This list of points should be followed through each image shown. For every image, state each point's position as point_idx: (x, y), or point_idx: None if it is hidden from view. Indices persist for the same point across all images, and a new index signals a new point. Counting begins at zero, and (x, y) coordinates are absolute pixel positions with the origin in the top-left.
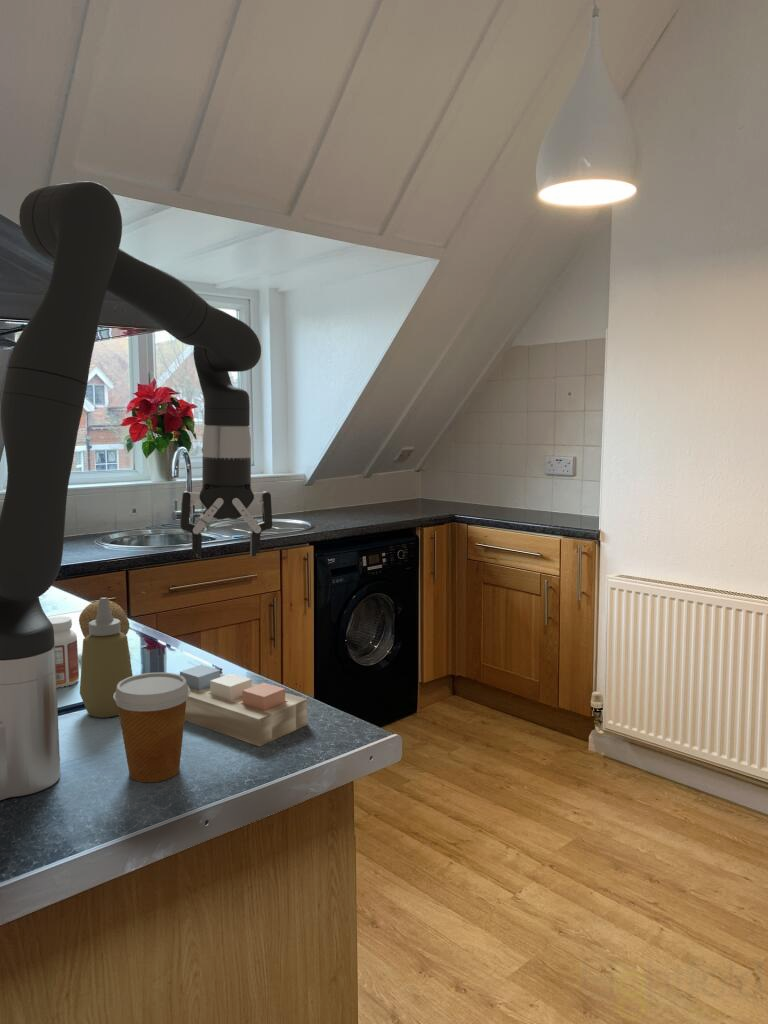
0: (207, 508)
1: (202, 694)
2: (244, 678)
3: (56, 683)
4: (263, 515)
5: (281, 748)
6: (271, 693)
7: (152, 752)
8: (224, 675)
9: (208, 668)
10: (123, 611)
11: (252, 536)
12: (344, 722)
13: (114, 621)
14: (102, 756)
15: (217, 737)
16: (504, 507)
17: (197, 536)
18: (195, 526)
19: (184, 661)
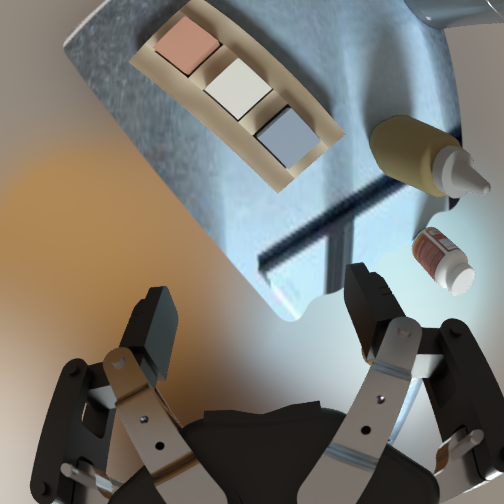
0: (387, 443)
1: (281, 86)
2: (216, 92)
3: (432, 228)
4: (102, 430)
5: (175, 2)
6: (173, 28)
7: None
8: (251, 166)
9: (277, 148)
10: (372, 362)
11: (145, 338)
12: (99, 77)
13: (450, 168)
14: (377, 19)
15: (254, 33)
16: (111, 484)
17: (390, 312)
18: (417, 342)
19: (303, 297)
